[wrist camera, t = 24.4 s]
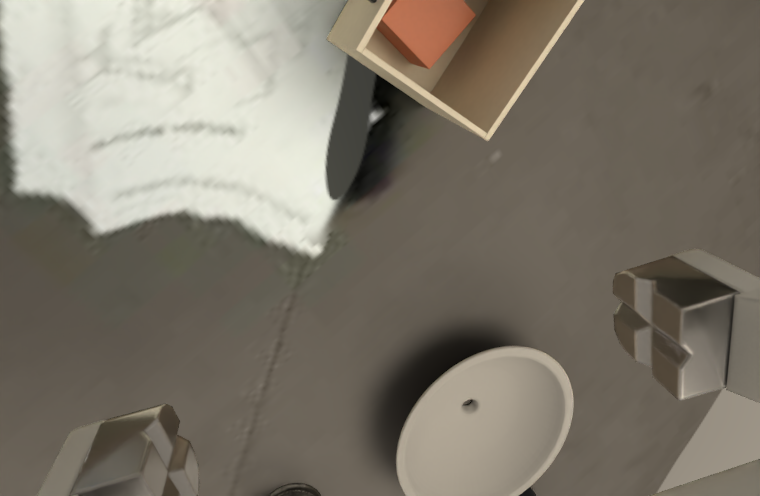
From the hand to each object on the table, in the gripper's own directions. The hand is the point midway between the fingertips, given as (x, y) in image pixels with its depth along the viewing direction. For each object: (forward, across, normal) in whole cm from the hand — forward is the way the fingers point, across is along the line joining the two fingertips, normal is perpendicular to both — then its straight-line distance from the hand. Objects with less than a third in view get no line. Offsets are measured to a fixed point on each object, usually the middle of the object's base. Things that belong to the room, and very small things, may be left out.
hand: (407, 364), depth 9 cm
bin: (+22, -11, -2) cm, 25 cm away
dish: (+28, -7, +27) cm, 40 cm away
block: (+27, -8, -5) cm, 29 cm away
